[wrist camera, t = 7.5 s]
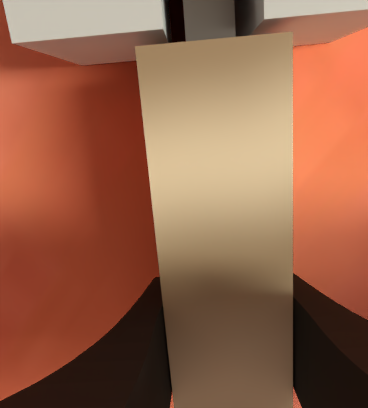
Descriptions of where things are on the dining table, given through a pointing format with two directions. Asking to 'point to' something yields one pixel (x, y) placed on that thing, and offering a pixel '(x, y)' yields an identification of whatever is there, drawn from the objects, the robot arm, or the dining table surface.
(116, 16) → the grey stepped block
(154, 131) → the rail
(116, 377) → the robot arm
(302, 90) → the dining table surface
